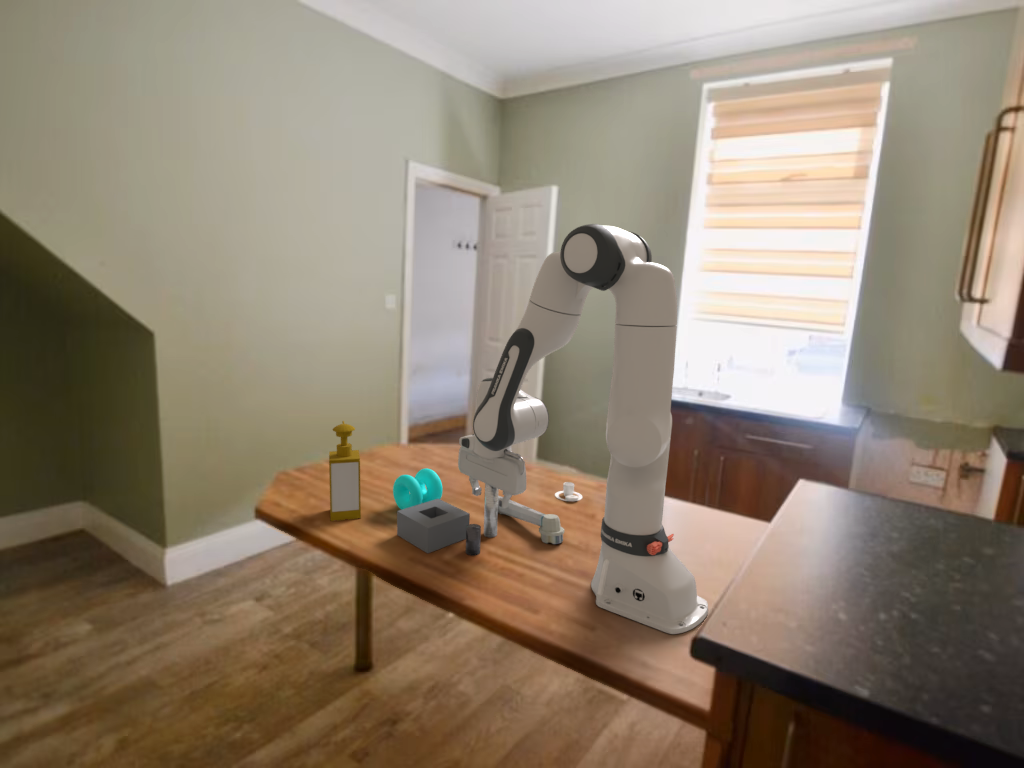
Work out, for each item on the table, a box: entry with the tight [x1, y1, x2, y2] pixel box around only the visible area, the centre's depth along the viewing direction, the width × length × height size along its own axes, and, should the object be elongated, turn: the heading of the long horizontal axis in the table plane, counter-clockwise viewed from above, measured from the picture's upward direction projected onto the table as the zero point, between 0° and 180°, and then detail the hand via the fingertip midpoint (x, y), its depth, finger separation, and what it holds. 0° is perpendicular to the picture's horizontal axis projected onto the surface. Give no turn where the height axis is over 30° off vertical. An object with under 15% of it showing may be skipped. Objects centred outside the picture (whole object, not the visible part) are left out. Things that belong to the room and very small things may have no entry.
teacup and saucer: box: [554, 481, 583, 502], centre depth 159 cm, size 9×8×4 cm
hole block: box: [396, 499, 471, 554], centre depth 130 cm, size 12×12×6 cm
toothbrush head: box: [498, 495, 565, 545], centre depth 138 cm, size 5×7×25 cm
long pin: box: [483, 483, 500, 538], centre depth 132 cm, size 3×3×13 cm
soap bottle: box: [328, 420, 362, 522], centre depth 142 cm, size 7×13×24 cm, turn 18°
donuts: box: [392, 467, 444, 510], centre depth 146 cm, size 10×10×10 cm
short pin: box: [465, 523, 482, 557], centre depth 124 cm, size 3×3×6 cm
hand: (489, 500), depth 132 cm, fingers open, 8 cm apart
